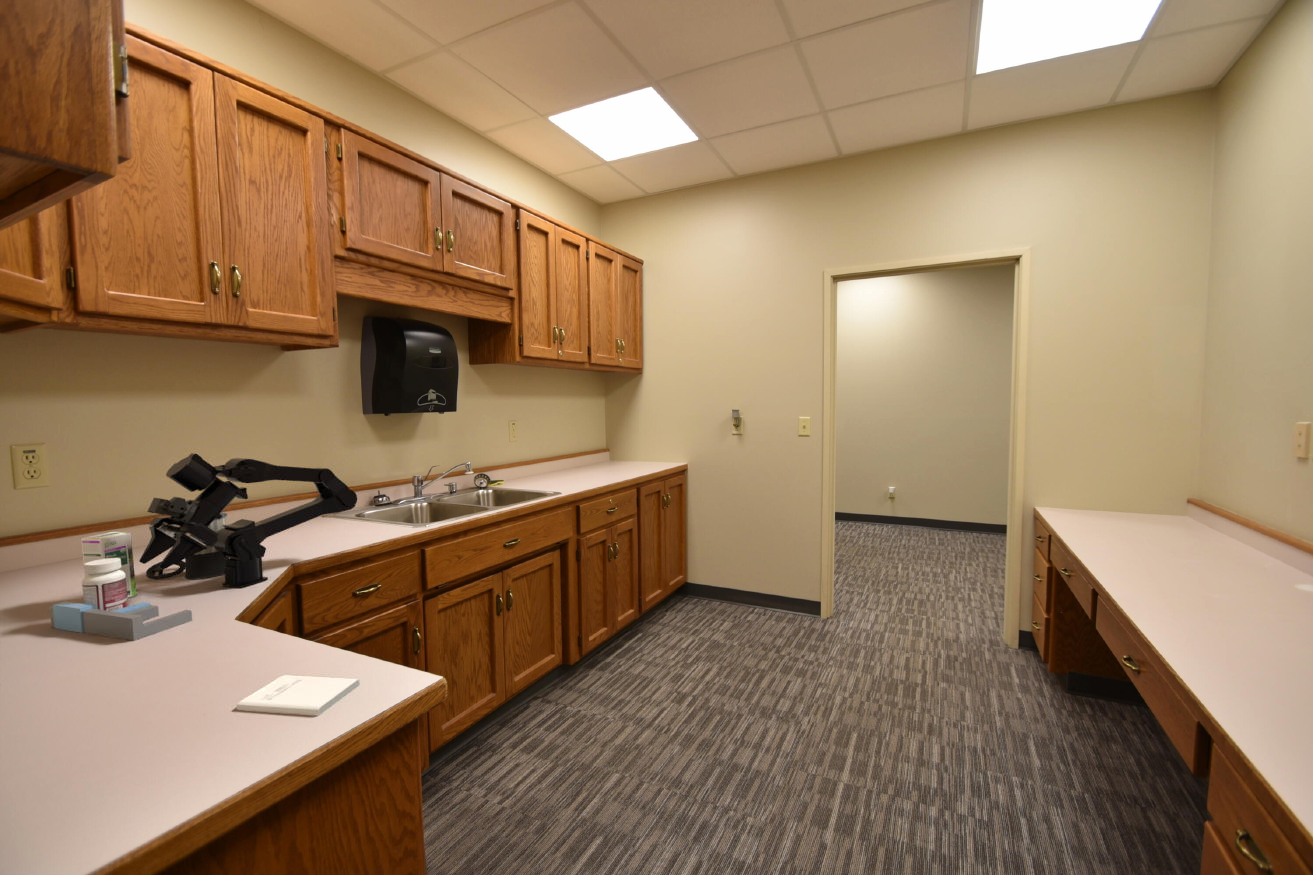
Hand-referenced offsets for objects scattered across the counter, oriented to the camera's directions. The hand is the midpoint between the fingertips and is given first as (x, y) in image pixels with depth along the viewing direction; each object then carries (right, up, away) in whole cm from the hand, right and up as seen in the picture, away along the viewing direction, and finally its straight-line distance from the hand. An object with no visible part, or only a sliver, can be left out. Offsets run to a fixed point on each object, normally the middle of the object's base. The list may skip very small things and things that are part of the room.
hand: (151, 565), depth 115 cm
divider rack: (+3, -9, -8) cm, 12 cm away
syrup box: (-14, -9, +6) cm, 17 cm away
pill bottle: (-3, -9, -6) cm, 11 cm away
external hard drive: (+55, -11, -37) cm, 67 cm away
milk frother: (-11, -8, +22) cm, 26 cm away
